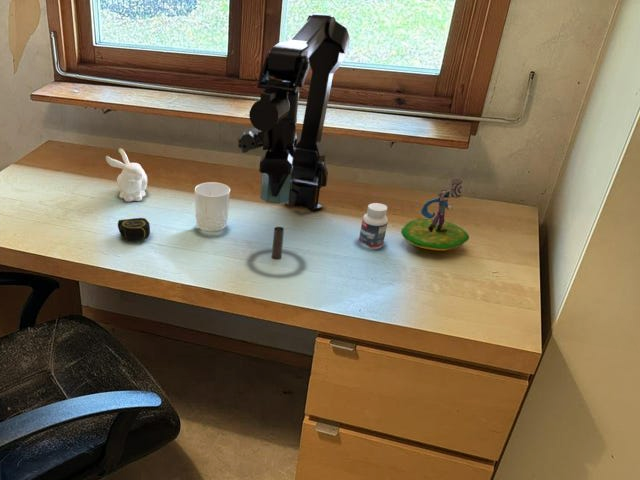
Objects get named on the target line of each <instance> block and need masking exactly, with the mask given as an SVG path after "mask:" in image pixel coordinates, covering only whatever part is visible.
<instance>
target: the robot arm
mask: <svg viewBox="0 0 640 480" xmlns="http://www.w3.org/2000/svg"><path fill="white" fill-rule="evenodd" d="M350 42H351V37H350V34H349V31H348V29H347V27H345V26H344V25H342V24H341V23H339V22H338V21H337V20H336V17H335V16H332V15H331V14H325V13H312V14H308V17H307V19H306V22H305V23H304V24H303V25H302V26H301V28H300V29H298V31H296V33H295V34H294V35H293V36H292V37H291V39H289V40H287V41H281V42H278V43H277V44H275V45H273V46H272V47H271V48H270V50H269V51H268V52H267V53H266V55H265V58H264V62H263V66H262V68H261V72H260V76H259V78H258V79H259V80H258V83H257V86H256V87H257V89H259V90H260V89H261V90H264V91H262V92H261V93H260V99H258V100H256V101H255V102H254V103H253V104H252V105H251V107H250V110H249V113H248V114H249V116H248V117H249V121H250V123H251V125H252V126H253V127H250V128H246V129H243V130H241V131H240V132H239V133H238V135H237V137H236V139H237V141H238V148H239V149H240V151H241V153H242V154H246V153H248V152H249V151H252V150H256V149H259V148H262V151H265V153H264V154H262V155H261V157H260V160H259V166H258V167H259V168H258V171H259V173H261V174H262V173H267V174H268V176H269V181H270V187H271V193H272V196H274V197H277V196H278V194H279V192H280V190H281V188H282V186H283V185H284V183H285V181H286V179H287V177H288V176H289V174H291V171H292V166H293V174H292V184H291V195H290V199H289V201H288V202H285V205H286V206H289V205H292V206H294V207H303V208H305V209H307V210H308V211H310V212H314V211H317V210H321V209H322V208H323V206H322V205H321V204H319V200H320V199H319V198H320V193H321V189H322V188H323V187H326V186H327V184H328V176H329V172H328V169H327V165H326V162H325V157H326V153H325V150H324V147H323V145H322V143H321V141H322V136H323V130H324V125H325V119H326V116H327V115H326V114H327V109H328V105H329V99H330V93H331V88H332V82H333V78H334V75H335V73H336V71H337V70H338V69H339V67H341V65H342V64H343V63H344V60H345V55H346V54H347V53H348V50H349V47H350ZM310 69H311V77H310V81H309V82H310V83H309V88H308V92H307V99H306V105H305V110H304V116H303V121H302V127H301V133H300V138H299V141H298V132H297V131H296V128H297V123H298V108H299V98H300V89H301V88H303V87H304V84H305V81H306V79H307V76H308V73H309V70H310ZM268 78H269V79H268Z"/></svg>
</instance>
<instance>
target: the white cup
mask: <svg viewBox="0 0 640 480" xmlns="http://www.w3.org/2000/svg"><path fill="white" fill-rule="evenodd" d="M230 197H231V187H230V186H228V185H227V184H225V183H222V182H216V181H209V182H208V181H207V182H203V183H199V184H197V185H196V186H195V188H194V211H195V220H196V221H195V222H196V223H195V226H196V229H199V230H201V231H207V232H219V231H221V230H224V229H225V228H227V224H228V223H227V222H228V219H229V218H228V217H229V209H230Z"/></svg>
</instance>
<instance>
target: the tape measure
mask: <svg viewBox="0 0 640 480" xmlns="http://www.w3.org/2000/svg"><path fill="white" fill-rule="evenodd" d="M117 229H118V232H119V234H120V236H121V238H122V239H123V240H125V241H127V242H128V241H129V242H138V241H144V240H146V239H147V238H148V237H149V236H150V233H151V226H150V221H148V219H147V218H144V217H135V218H126V219H119V220H118V221H117Z"/></svg>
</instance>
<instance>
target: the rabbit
mask: <svg viewBox="0 0 640 480" xmlns="http://www.w3.org/2000/svg"><path fill="white" fill-rule="evenodd" d="M118 153H119V154H120V155H121V158H122V161H123V162H121V161H120V160H118V159H115V158H111V157H110V156H109V155H106V156H105V161H106V163H107V164H108V165H109V166H111V167H114V168H118V169H122V170H121V173H119V174H118V176H117V177H116V185H117V187H118V189H119V190H120V193H119V198H120V199H123V200H124V201H125V202H129V203H130V202H133V201H135V202H140V201H142V200H143V198H144V197H146V191H145V190H146V189H147V186H148V182H149V180H148V175H147V173H146V172H145V169H144V168H143V167H142V166H141V164H139V163H138V162H130V159H129V158H128V155H127V154H126V152H125V150H124V149H123V148H122V147H120V148H118Z"/></svg>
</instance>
